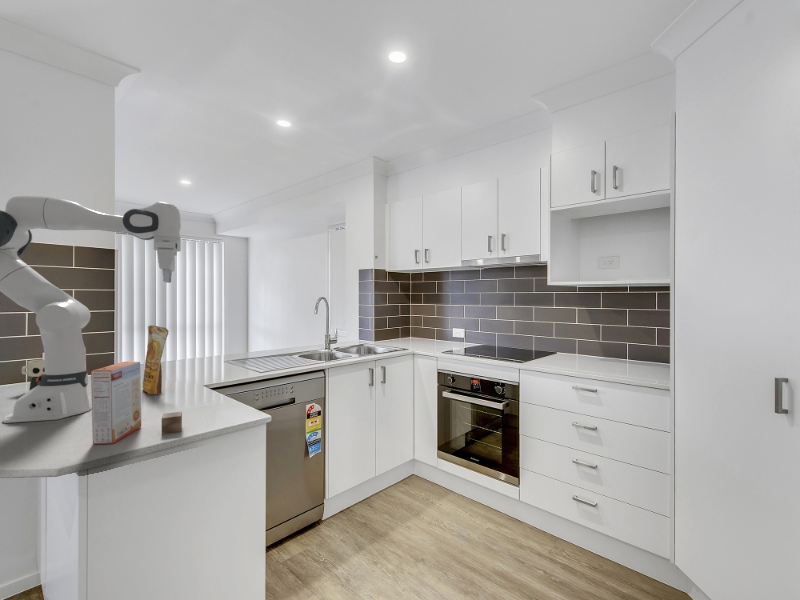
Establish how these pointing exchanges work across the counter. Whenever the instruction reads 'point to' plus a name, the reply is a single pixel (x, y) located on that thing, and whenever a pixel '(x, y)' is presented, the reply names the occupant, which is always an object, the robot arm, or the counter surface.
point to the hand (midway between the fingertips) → (167, 282)
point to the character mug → (34, 371)
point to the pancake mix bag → (154, 359)
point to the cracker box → (115, 401)
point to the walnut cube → (171, 423)
